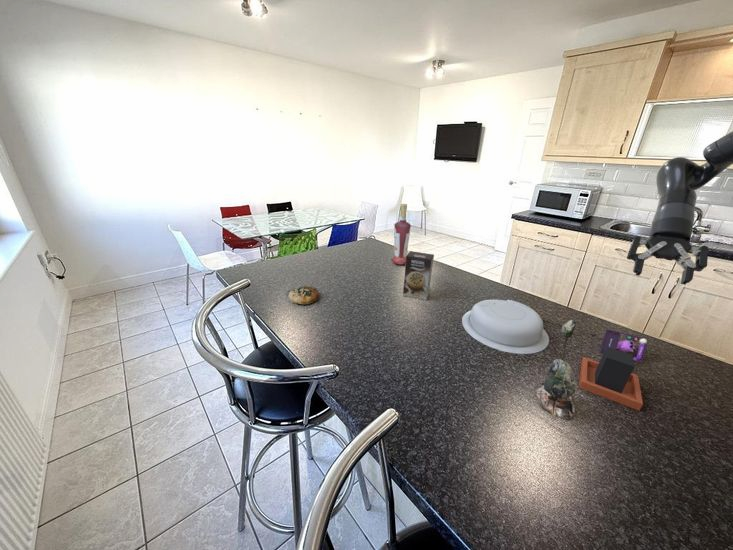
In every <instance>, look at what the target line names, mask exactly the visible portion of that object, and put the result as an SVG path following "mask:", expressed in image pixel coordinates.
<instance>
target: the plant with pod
mask: <svg viewBox="0 0 733 550" xmlns="http://www.w3.org/2000/svg"><path fill="white" fill-rule="evenodd" d="M576 324H577V323H576V320H574V319H569V320H568V321H567V322H566V323H564V324H562V326H561V334H562V336H563V337H564V344H563V350H562V356H561V358H558V359H557V358H555V359H554V360H553V361H552V363H551V364H550V367H549V369H548V371H547V375H546V379H545V381H544V382H543V383H541V384H540V385H539V387H538V388H536V390H535V392H534V394H535V396H536V399H537V401H538V402H539V406H540V407H541V408H542V409H543V410H544V411H546V412H548V413H550V414H551V415H552V417H556V416H557V417H560V419H561V418H562V419H566V420H567V419H569V420H570V419H573V417H574V413H575V412H576V411H575V410H576V408H575V406H574V405H575V404H574V403H573V402H574V400H573V399H572V396H573V395H574V394H575V392H576V391H577V388H578V385H577V381H576V377H575V374H574V372H573V369H572V366H571V365H570V364H569V362H566V361H565V360H564V357H565V352H566V345H567V342H568V340H569V339H570V338H571V337H572V336H573V335H574V331H575V328H576ZM568 338H569V339H568Z"/></svg>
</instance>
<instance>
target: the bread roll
mask: <svg viewBox="0 0 733 550" xmlns="http://www.w3.org/2000/svg"><path fill="white" fill-rule="evenodd" d="M319 298H320V292H319V290H318V289H317V288H316V287H314V286H308V285H307V286H306V285H304V286H303V285H302V286H298V287H296V288H294V289H291V290H290V292H289V293H288V299H289V301H290V302H291V303H292V304H297V305H304V306H305V305H307V306H308V305H311V304H313V303H314V302H317V301H318V299H319Z"/></svg>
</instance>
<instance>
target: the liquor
mask: <svg viewBox="0 0 733 550" xmlns="http://www.w3.org/2000/svg"><path fill="white" fill-rule="evenodd" d="M407 209H408V204H407V203H400V216H399V221H397V222H395V223H394V231H393V259H392V263H394V264H395V265H397V266H404V265H406V256H407V255H408V249H409V243H410V242H409V241H410V233H411V227H412V226H411V224H410V223H409V222H408V221H407Z"/></svg>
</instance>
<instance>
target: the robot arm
mask: <svg viewBox="0 0 733 550" xmlns="http://www.w3.org/2000/svg"><path fill="white" fill-rule="evenodd" d="M702 156H703V158H704V160H705V161H706V162H704V163H703V164H701V165H699V164H698V163H696V162H694V161H693V160H691V159H689V158H687V157H683V156H677V157H673V158H670V159H669V160H667V161H665V162H664V163H663V164H662V165H661V166H660V168H659V169H658V171H657V173H656V176H655V180H656V181H655V182H656V190H657V195H658V203H657V207H656V211H655V213H654V215H653V218H652V221H651V228H650V233H649V237H648V239H642V238H641V236H635V237H634V238H633V240H632V241H631V243H630V246H629V250H628V253H627V256H626V259H627V260H628V261H629V260H631V261H633V262H634V266H633V269H632V271H633V274H635V276H636V277H637V276H638V277H640V275H641V274H642V272H643V269H644V263H645V261H647V260H648V259H650V258H652V257H654V258H655V259H658V260H666V261H670V262H672V261H674V262H675V264H677V265H678V266H680V267H681V268H682V269H683V270H682V274H681V278H680V285H687V284H689V283H690V282H692V281H693V280H694V273H695V272H702V271H703V270H705V268H707V267H708V261H709V260H708V259H709V246H708V245H702V246H692V244H691V240H692V235H693V233H692V232H693V228H694V223H695V215H696V214H695V210H696V204H697V192H696V191H697V190H699V189H701V188H702V187H704V186H705V185H707V184H708V183H709V182H711V181H712V180H713V179H715V178H716V177H717V176H719V175H720V174H721V173H723V172H724V171H726V170H727V169H728V168H729V167H731V166H732V165H733V130H732V131H731V132H729V133H726V134H725V135H723V136H721V137H719V139H717V140H715V141H713V142H711V143H709V144H708V145H707V146H705V148H704V149H703V151H702ZM642 246H644V247H645V248H646V249H647V250H646V251H644V252H642V253H641V254H638V253H637V251H638V248H641V247H642ZM690 252H691V253H692V255H693V257H695V262H694V261H693V260H692V257H691V256H690V254H689V253H690Z"/></svg>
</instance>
